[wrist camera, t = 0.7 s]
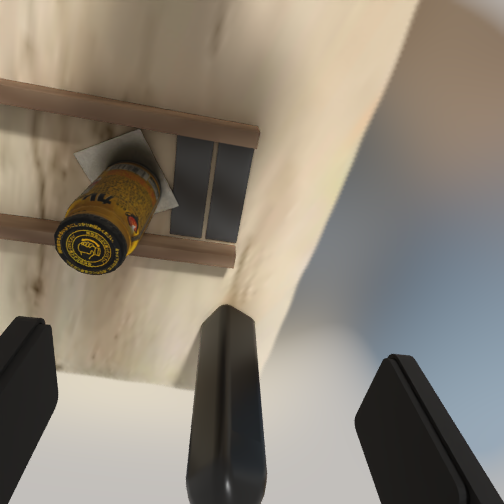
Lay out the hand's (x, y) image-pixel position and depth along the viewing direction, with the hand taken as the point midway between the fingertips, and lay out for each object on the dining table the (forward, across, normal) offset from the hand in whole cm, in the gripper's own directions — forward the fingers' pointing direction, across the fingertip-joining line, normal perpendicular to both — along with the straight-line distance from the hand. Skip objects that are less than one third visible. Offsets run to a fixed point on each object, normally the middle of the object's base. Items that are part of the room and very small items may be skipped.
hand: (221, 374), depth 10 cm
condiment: (+29, +9, +5) cm, 31 cm away
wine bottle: (+30, -4, +23) cm, 38 cm away
